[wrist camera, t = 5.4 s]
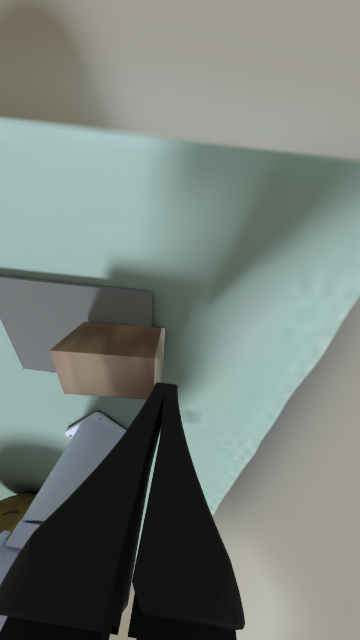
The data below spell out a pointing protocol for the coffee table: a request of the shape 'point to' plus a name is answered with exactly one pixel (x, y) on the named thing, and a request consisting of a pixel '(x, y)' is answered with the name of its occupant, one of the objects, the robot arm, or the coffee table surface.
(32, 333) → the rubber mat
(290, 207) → the coffee table surface
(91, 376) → the walnut block
